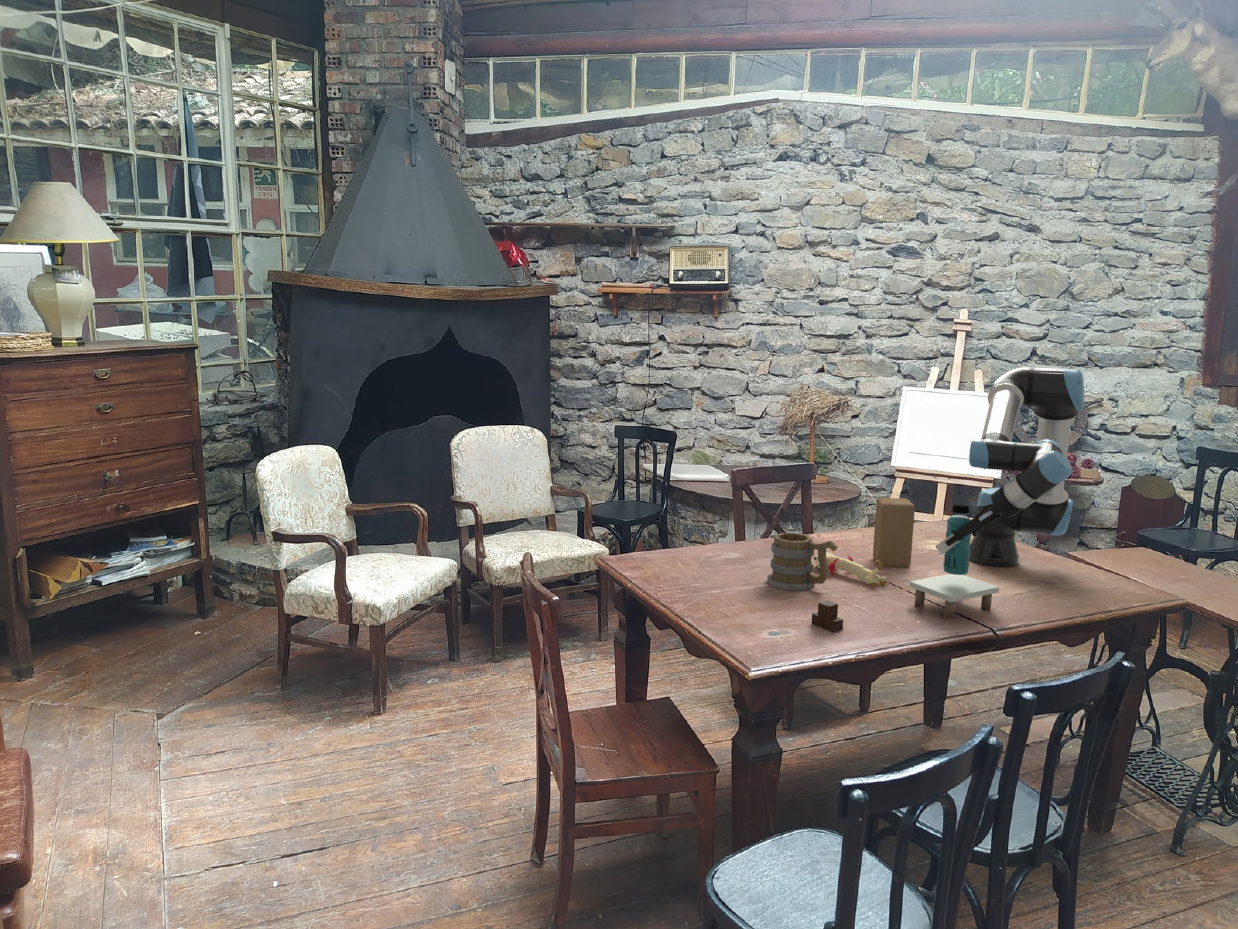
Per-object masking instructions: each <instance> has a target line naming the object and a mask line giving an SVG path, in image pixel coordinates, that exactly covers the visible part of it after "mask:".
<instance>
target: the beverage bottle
mask: <svg viewBox="0 0 1238 929" xmlns="http://www.w3.org/2000/svg"><path fill="white" fill-rule="evenodd" d="M951 511H952V512H953V513H955V515H954V514H953V515H951V516H949V517H948V518H947V519H946V520H947V521H946V522H947V526H946V532H945V539H946V538H947V537H949V536H950V535H951V534H953V533H952V530H954V531H956V530H958V529H959V528H960V527H962V526H963V525H965V524H966V523H967V522H969V521H970V520H972V519H971V518H970V517H969V516H967V515H965V514H969V513H970V505H969V504H967V503H961V502H960V503H953V505H952V509H951ZM963 514H964V515H963ZM971 535H972V534H971V533H970V534H969V535H967V536H966V537H965V538H963V539H962V540H961V541H960V542H959V543H957V544H956V545H955V546H953V547H952V548H951V549H949V550H948V551H946V552H945V553H944V557H943V571H944V572H945V573H947V574H954V575H965V576H966V575H967V574H968V573H969V569H970V561H971V560H970V558H969V556H970V545H971V542H972V541H971V540H972V538H971V537H972V536H971Z"/></svg>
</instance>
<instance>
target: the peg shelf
mask: <svg viewBox="0 0 1238 929" xmlns="http://www.w3.org/2000/svg"><path fill="white" fill-rule="evenodd" d="M909 588H912V589H914V590H915V595H914V596H915V598H914V606H915V607H917V608H924V607H925V599H926V598H925V597H926V594H928V595H930V596H933V597H936V598H938V599H941V600H943V601H944V613H943V614H944V615H943V618H945V619H947V620H953V619H954V618H955V610H956V609H955V608H956V602H960V601H965V600H969V599H970V600H971V599H973V598H979V597H981V603H980V610H982V611H985V612H989V611H991V608H992V607H991V606H992V598H993V597H992V596H993V594H998V593H999V592H1000V586H998V585H995V584H991V583H988V582H985V581H983V580H979V579H976V578H974V577H970V576H967V575H966V574H965V575H954V574H949V573H947V574H942V575H938V576H937V575H936V576H933V577H927V578H922V579H916V580H911V581H910V582H909Z"/></svg>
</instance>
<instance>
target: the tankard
mask: <svg viewBox="0 0 1238 929" xmlns="http://www.w3.org/2000/svg"><path fill="white" fill-rule="evenodd" d="M838 548H839V547H838V545H837V544H836V543H834V542H833V540H828V541H825V542H821V543H817V542H813V539H812V538H811V537H810V535H808V534H803V533H799V532H781V533H777V534H775V535H774V536H773V543H771V548H770V550H771V552H772V553H773V556H772V559H770V568H771V571H772V573H770V574H768V575H767V577H766V578H767V582H768V583H769V585H770V587H773V588H775V589H778V590H779V589H781V590H784V591H801V592H802V591H803V592H804V591H806V590H808V589H812V588H814V587H815V586H816V584H819V585H821V584H822V585H823V584H824V583H825V582H826V581H827V579H828V578H829V573H830V571H829V567H828V563H827V559H826V552H827V549H830V550H831V551H832V552H835V551H836V550H837V549H838ZM815 550H817V556H818V560H819V564H820V573H819V575H815V574H812V573H813V572H814V564H813V563H812V557H813V556H815Z"/></svg>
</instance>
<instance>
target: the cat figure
mask: <svg viewBox="0 0 1238 929" xmlns="http://www.w3.org/2000/svg"><path fill="white" fill-rule="evenodd" d="M846 557H848V559H847V558H843V557H840V556H838V555H836V554H834V553H832V552H828V551H826V559H827V563H828V567H829V573H830V574H831V575H832V576H834V577H835V575H836V574H835V569H838V570H840V571H842V572H843V571H845V572H846V573H850V574H852V575H854V576H856V577H857V578H859V579H861V580H863V581H864V583H865V584H867V585H871V588H872V589H877V588H878V587H879V586H881V587H886V585H887V584H888V581H887V577H886V576H880V575H878V574H880V573H881V572H882V571H884V566H882V564H881V562H880V561H878V560H877V561H875V560H874V566H875V567H876V568H875V569H874V570H870V569H869V568H866V567H865V566H864V565H862V564H860V563H856V562H855V561H854V559H853V558H852V556H849V555H847V556H846ZM813 559H814V560H813V562H814V563H815V566H816V567H817V568H818V569H819V570H821V568H820V564H819V560H818V555H814V557H813Z"/></svg>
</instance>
